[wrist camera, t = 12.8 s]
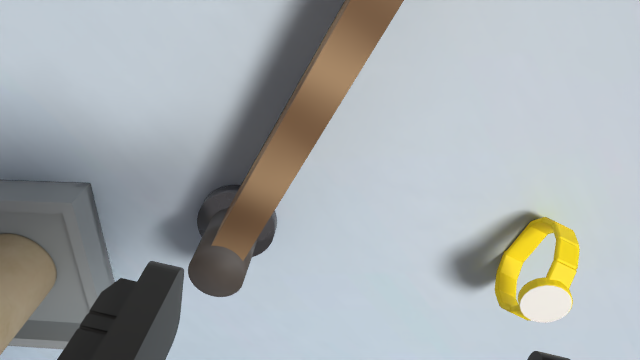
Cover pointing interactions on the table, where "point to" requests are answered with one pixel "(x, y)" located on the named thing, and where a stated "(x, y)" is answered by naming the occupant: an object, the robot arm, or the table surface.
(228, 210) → the crank lever
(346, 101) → the table surface
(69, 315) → the tray
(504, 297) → the watch
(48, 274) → the candle
